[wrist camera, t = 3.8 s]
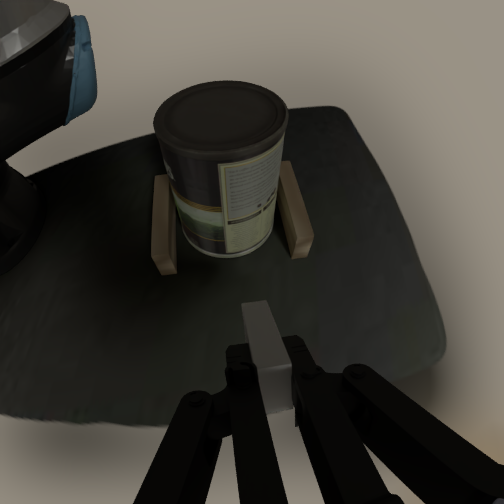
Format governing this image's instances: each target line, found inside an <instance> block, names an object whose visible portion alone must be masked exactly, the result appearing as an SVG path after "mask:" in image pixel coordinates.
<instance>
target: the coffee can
mask: <svg viewBox="0 0 504 504" xmlns="http://www.w3.org/2000/svg"><path fill="white" fill-rule="evenodd" d="M287 123H288V108H287V106H286V104H285V103H284V101H283V100H282V99H281V98H280V97H279V96H278V95H276V94H275V93H274V92H272V91H270V90H268V89H266V88H264V87H262V86H259V85H255V84H252V83H247V82H242V81H213V82H207V83H202V84H197V85H194V86H191V87H189V88H186V89H184V90H181V91H180V92H178V93H176V94H174V95H172V96H171V97H170V98H168V99H167V100H166V101H164V102H163V104H162V105H161V106H160V107H159V108H158V110H157V112H156V114H155V117H154V121H153V126H154V130H155V134H156V136H157V138H158V140H159V144H160V148H161V152H162V156H163V160H164V164H165V167H166V171H167V175H168V178H169V182H170V185H171V189H172V192H173V196H174V199H175V203H176V206H177V210H178V213H179V217H180V220H181V225H182V230H183V233H184V235H185V237H186V239H187V240H188V241H189V243H190V244H191V245H192V246H193V247H194V248H196V249H197V250H199V251H200V252H202V253H204V254H207V255H210V256H213V257H218V258H234V257H239V256H242V255H245V254H248V253H250V252H252V251H254V250H255V249H257V248H258V247H260V246H261V245H262V244H263V243H264V242H265V241H266V239H267V238H268V237H269V235H270V233H271V231H272V228H273V224H274V211H275V203H276V196H277V188H278V180H279V173H280V165H281V157H282V150H283V142H284V134H285V130H286V127H287Z"/></svg>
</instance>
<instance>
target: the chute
mask: <svg viewBox="0 0 504 504" xmlns="http://www.w3.org/2000/svg"><path fill="white" fill-rule="evenodd" d="M276 199H277V203H278V207H279V211H280V215H281V219H282V222H283V226H284V230H285V234H286V238H287V242H288V246H289V250H290V254H291V258H292V259H296V258H304V257H307V255H308V252H309V249H310V246H311V244H312V241H313V238H314V234H313V230H312V227H311V224H310V221H309V217H308V214H307V211H306V208H305V205H304V202H303V199H302V196H301V193H300V190H299V187H298V184H297V181H296V178H295V175H294V172H293V169H292V166H291V163H290V161H281V165H280V173H279V180H278V188H277V196H276ZM151 257H152V258H153V260H154V262H155V264H156V266H157V268H158V269H159V271H160V273H161V275H170V274H177V257H176V203H175V199H174V196H173V192H172V189H171V185H170V182H169V178H168V175H167V174H164V175H158V176H155V183H154V197H153V215H152V240H151Z"/></svg>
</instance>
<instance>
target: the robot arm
mask: <svg viewBox="0 0 504 504" xmlns="http://www.w3.org/2000/svg"><path fill="white" fill-rule="evenodd" d="M96 98H97V79H96V70H95V62H94V55H93V50H92V48H91V37H90V31H89V26H88V22H87V20H86V18H85V16H83V15H80V16H77V15H75V16H73V17H71V14H70V9H69V6H68V5H67V4H64V3H60V2H57V1H54V0H0V275H1V274H3V273H5V272H7V271H9V270H10V269H12V268H13V267H14V266H15V265H16V264H18V263H19V262H20V261H21V260H22V259H23V257H24V256H25V255H26V254H27V253H28V251H29V250H30V249H31V247H32V246H33V244H34V242H35V241H36V239H37V237H38V235H39V233H40V231H41V229H42V226H43V223H44V220H45V215H46V200H45V197H44V195H43V194H42V192H41V191H40V189H39V188H38V186H37V185H36V184H35V183H34V182H33V181H31V180H29V179H27V178H26V177H24V176H23V175H22V174H21V173H19V172H18V171H16V170H15V169H13V168H12V167H10V166H9V165H8V163H7V162H6V159H8V158H9V157H11V156H12V155H14V154H15V153H17V152H18V151H20V150H21V149H23V148H24V147H26V146H28V145H29V144H31V143H33V142H34V141H36V140H38V139H39V138H41V137H43V136H44V135H46V134H48V133H49V132H51V131H53V130H55V129H57V128H59V127H60V126H62V125H63V126H65V125H67V124H68V123H69V122H70V121H71V120H73V119H74V118H76V117H78V116H79V115H82V114H83V113H85V112H87V111H88V110H90V109H91V108H92V106H93V105H94V103H95V101H96ZM241 306H242V314H243V322H244V331H245V339H246V343H245V344H238V345H230V346H229V347H228V348H227V350H226V362H227V367H226V369H225V375H226V381H227V386H226V388H225V389H224V390H222V391H221V392H219V393H216V394H213V395H210V394H209V393H207V392H205V391H192V392H189V393H187V394H186V395H184V396H183V398H182V399H181V401H180V403H179V405H178V407H177V410H176V412H175V414H174V416H173V418H172V420H171V423H170V425H169V427H168V429H167V431H166V433H165V436H164V438H163V440H162V442H161V444H160V446H159V448H158V451H157V453H156V455H155V457H154V459H153V462H152V464H151V466H150V468H149V470H148V473H147V474H146V477H145V479H144V481H143V483H142V485H141V488H140V490H139V492H138V494H137V496H136V499H135V501H134V503H133V504H205V502H206V498H207V495H208V491H209V488H210V484H211V480H212V477H213V473H214V470H215V466H216V462H217V458H218V455H219V451H220V447H221V444H222V438H224V437H227V436H230V435H232V438H233V448H234V457H235V466H236V474H237V483H238V491H239V499H240V504H288V501H287V497H286V493H285V489H284V486H283V481H282V478H281V473H280V470H279V465H278V461H277V457H276V453H275V449H274V445H273V441H272V437H271V432H270V428H269V424H268V420H267V416H266V413H272V412H278V411H284V410H289V409H293V404H294V407H295V427H297V426H299V429H300V432H301V435H302V438H303V441H304V444H305V447H306V450H307V453H308V456H309V459H310V462H311V465H312V468H313V470H314V474H315V476H316V479H317V482H318V485H319V488H320V491H321V494H322V497H323V500H324V503H325V504H404V502H403V501H402V499H401V498H400V497H399V496H398V495H396V494H391V493H390V492H389V491H388V490H387V488H386V486H385V484H384V482H383V480H382V478H381V476H380V474H379V472H378V470H377V469H376V467H375V465H374V463H373V461H372V459H371V457H370V455H369V453H368V452H367V450H366V448H365V446H364V444H365V445H366V446H367V447H368V448H369V449H370V450H371V451H372V452H373V453H374V454H375V455H376V456H377V457H378V458H379V459H380V460H381V461H382V462H383V463H384V464H385V465H386V466H387V467H388V468H389V469H390V470H391V471H392V472H393V473H394V474H395V475H396V476H397V477H398V478H399V479H400V480H401V481H402V482H403V483H404V484H405V485H406V486H407V487H408V488H409V489H410V490H411V491H412V492H413V493H414V494H415V495H416V496H418V497H419V498H420V499H421V500H422V501H423V502H424V503H425V504H504V465H501V464H498V463H497V462H495V461H494V460H493V459H491V458H490V457H488V456H487V455H486V454H484V453H483V452H482V451H480V450H479V449H477V448H476V447H475V446H473V445H472V444H471V443H469V442H468V441H466V440H465V439H464V438H462V437H461V436H460V435H458V434H457V433H456V432H454V431H453V430H452V429H450V428H449V427H448V426H446V425H445V424H444V423H442V422H441V421H440V420H438V419H437V418H436V417H434V416H433V415H432V414H430V413H429V412H427V411H426V410H425V409H424V408H422V407H421V406H420V405H418V404H417V403H416V402H414V401H413V400H412V399H410V398H409V397H408V396H406V395H405V394H404V393H403V392H401V391H400V390H398V389H397V388H396V387H395V386H393V385H392V384H391V383H389V382H388V381H387V380H386V379H384V378H383V377H382V376H380V375H379V374H378V373H377V372H375V371H374V370H373V369H371V368H370V367H368V366H367V365H364V364H352V365H349V366H347V367H346V368H345V369H344V370H343V373H327V372H325V371H324V370H323V369H322V368H321V367H320V366H317V365H316V364H315V362H314V360H313V358H312V356H311V354H310V352H309V350H308V348H307V347H306V345H305V343H304V341H303V339H302V338H300V337H299V336H297V335H294V336H288V337H282V338H281V336H280V333H279V331H278V328H277V326H276V323H275V321H274V318H273V316H272V314H271V311H270V309H269V306H268V304H267V301H266V300H264V301H257V302H249V303H242V304H241ZM363 443H364V444H363Z"/></svg>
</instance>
